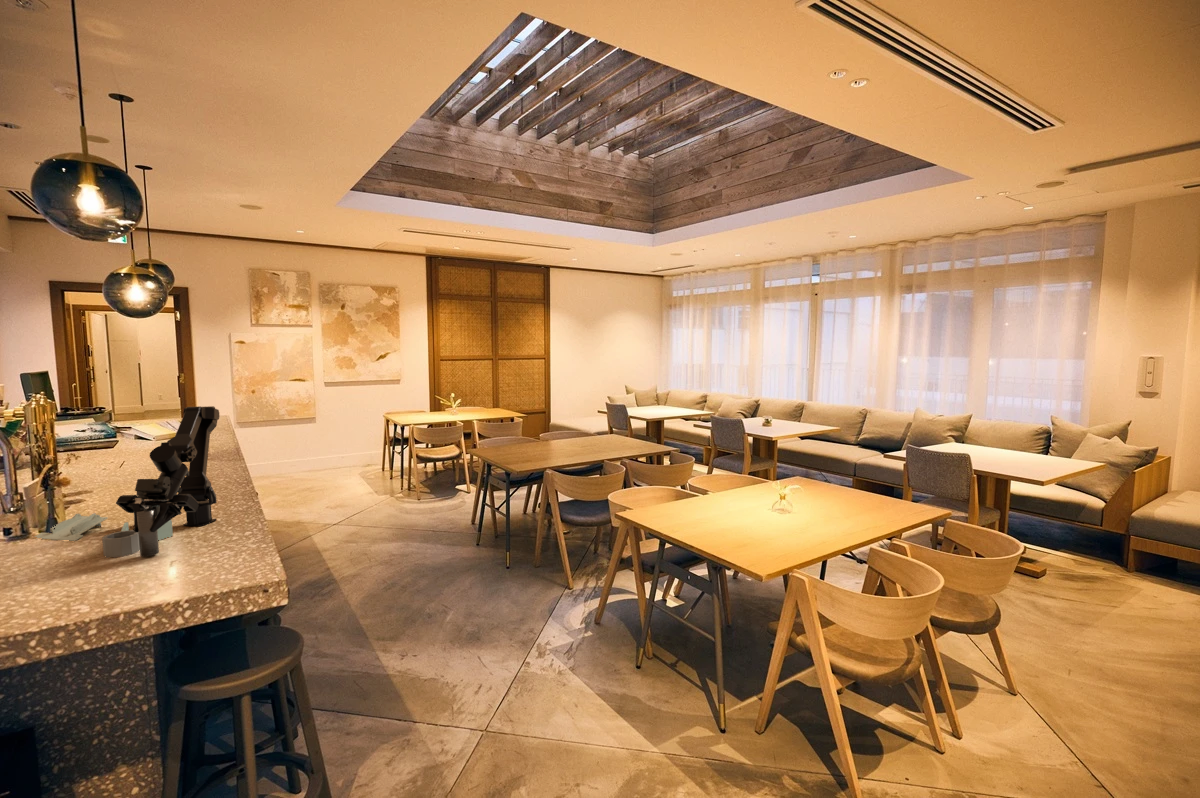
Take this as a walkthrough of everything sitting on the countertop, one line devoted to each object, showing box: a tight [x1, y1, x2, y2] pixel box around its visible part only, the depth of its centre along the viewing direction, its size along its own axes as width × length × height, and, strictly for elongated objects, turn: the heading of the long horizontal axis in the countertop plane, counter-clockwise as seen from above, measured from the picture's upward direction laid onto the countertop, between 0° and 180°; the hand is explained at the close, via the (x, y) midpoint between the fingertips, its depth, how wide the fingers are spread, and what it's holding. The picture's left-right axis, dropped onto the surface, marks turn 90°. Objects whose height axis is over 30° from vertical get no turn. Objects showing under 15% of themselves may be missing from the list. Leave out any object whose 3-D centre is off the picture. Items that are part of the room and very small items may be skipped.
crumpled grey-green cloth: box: [34, 512, 109, 542], centre depth 173 cm, size 14×6×15 cm
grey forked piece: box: [101, 519, 174, 558], centre depth 161 cm, size 18×13×5 cm
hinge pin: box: [137, 508, 160, 557], centre depth 153 cm, size 4×4×12 cm
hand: (143, 531), depth 151 cm, fingers closed on hinge pin, 4 cm apart
